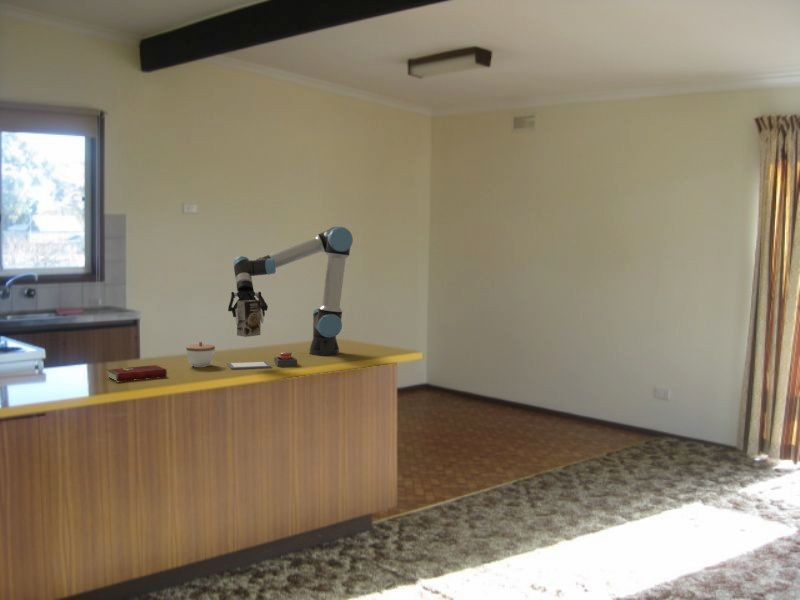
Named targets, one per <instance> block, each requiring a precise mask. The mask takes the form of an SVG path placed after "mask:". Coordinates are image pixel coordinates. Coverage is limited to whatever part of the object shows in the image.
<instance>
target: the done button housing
mask: <svg viewBox="0 0 800 600" xmlns="http://www.w3.org/2000/svg"><path fill="white" fill-rule="evenodd" d="M274 363H275V364H276V365H277V366H276V365H275V364H274ZM273 364H274V365H275V366H276V367H278V366H287V367H298V359H297V358H296V357H294V356H291V359H290V360H280V356H275V357H273Z"/></svg>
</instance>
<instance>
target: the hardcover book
mask: <svg viewBox="0 0 800 600" xmlns="http://www.w3.org/2000/svg"><path fill="white" fill-rule="evenodd" d="M106 370H107V371H108V378H109V377H110V378H112V379H114V380H116V381H124V382H126V381H125V380H134V379H143V380H147V379H146V378H153V379H158V378H157V377H163V378H167V377H168V370H167V368H165V367H163V366H161V365H158V364H150V365H138V366H129V367H128V366H127V367H117V368H107V369H106ZM110 378H109V379H110ZM112 379H111V380H112ZM114 380H113V381H114ZM116 381H115V382H116ZM134 381H135V380H134Z"/></svg>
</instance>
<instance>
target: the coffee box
mask: <svg viewBox="0 0 800 600" xmlns="http://www.w3.org/2000/svg"><path fill="white" fill-rule="evenodd" d="M236 302H237V312H238V320H239V321H238V324H236V336H238V337H243V338H248V337H257V336H261V325H262V323H261V301H260V300H259V299H256V300H243V301H238V300H236Z"/></svg>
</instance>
